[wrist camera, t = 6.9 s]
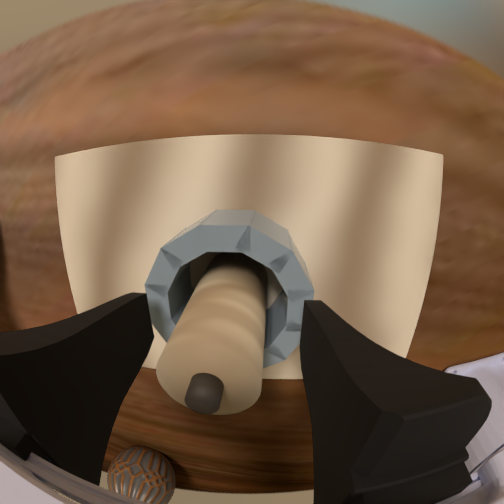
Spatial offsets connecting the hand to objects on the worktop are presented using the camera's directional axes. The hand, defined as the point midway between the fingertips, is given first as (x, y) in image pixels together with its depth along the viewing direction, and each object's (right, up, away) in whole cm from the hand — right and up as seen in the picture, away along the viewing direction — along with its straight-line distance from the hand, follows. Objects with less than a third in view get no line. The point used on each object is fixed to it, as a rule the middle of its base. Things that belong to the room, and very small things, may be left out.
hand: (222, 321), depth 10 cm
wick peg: (0, +1, +4) cm, 4 cm away
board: (0, +2, +5) cm, 5 cm away
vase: (-10, -19, +12) cm, 25 cm away
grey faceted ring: (0, +1, +4) cm, 4 cm away
